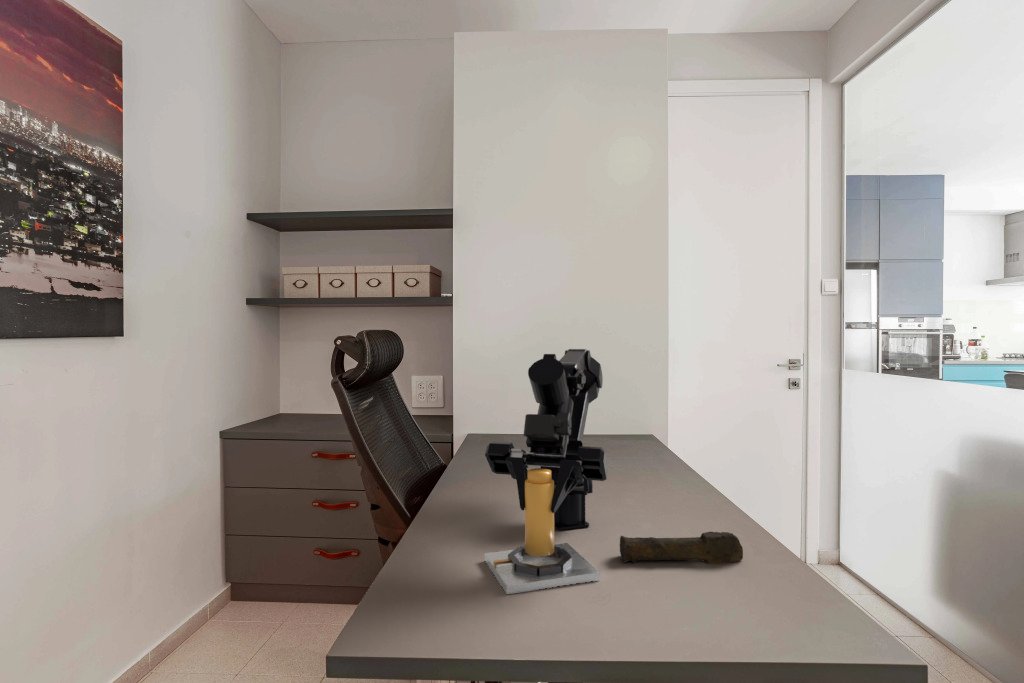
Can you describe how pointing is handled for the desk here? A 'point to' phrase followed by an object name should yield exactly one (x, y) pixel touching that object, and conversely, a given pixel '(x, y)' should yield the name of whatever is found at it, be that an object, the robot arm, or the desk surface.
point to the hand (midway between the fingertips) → (537, 510)
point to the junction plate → (540, 569)
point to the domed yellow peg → (539, 512)
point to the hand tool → (683, 548)
